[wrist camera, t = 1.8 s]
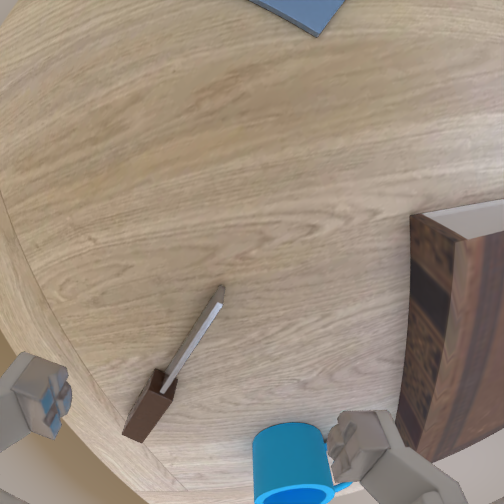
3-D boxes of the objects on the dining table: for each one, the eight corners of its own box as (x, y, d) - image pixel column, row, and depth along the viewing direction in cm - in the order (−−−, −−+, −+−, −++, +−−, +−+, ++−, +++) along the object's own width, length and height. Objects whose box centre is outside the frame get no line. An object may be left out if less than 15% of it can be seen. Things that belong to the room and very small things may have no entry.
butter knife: (128, 415, 30) (121, 434, 28) (209, 278, 25) (205, 296, 22) (147, 424, 31) (142, 443, 28) (236, 292, 25) (235, 312, 22)
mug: (250, 460, 34) (251, 515, 26) (254, 422, 31) (257, 485, 23) (343, 456, 34) (356, 506, 26) (361, 417, 31) (380, 473, 24)
